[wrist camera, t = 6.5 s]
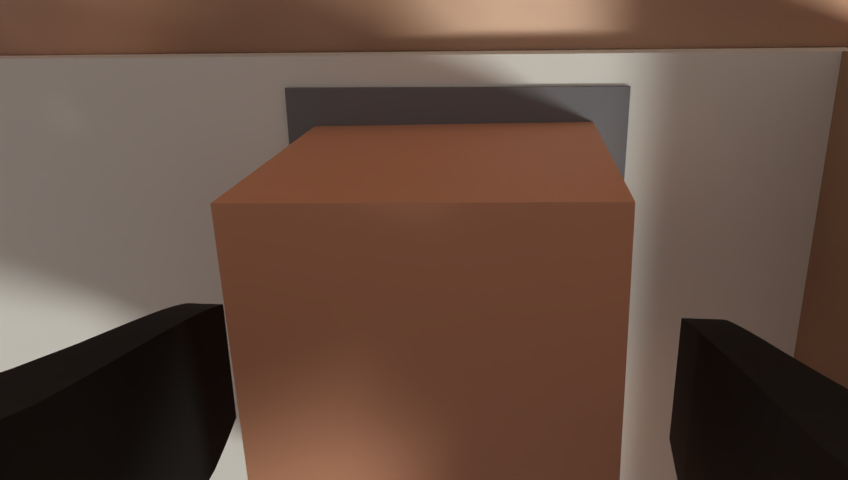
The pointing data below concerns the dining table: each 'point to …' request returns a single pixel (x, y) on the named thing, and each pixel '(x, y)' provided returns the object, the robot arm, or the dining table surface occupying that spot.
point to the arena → (273, 72)
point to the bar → (430, 303)
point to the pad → (463, 108)
